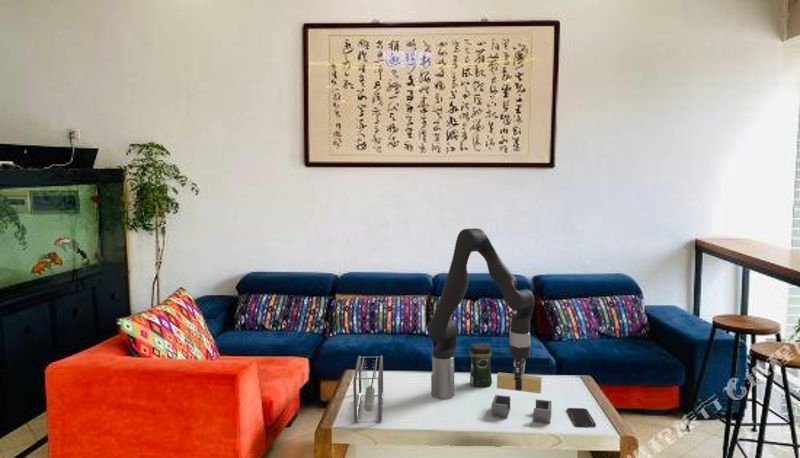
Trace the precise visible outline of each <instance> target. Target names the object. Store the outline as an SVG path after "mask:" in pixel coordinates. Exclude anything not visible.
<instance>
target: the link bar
mask: <svg viewBox="0 0 800 458" xmlns="http://www.w3.org/2000/svg"><path fill="white" fill-rule="evenodd" d="M517 377H519V376H517ZM515 381H516V380H514V373H508V372H500V371H499V372H497V374H496V389H501V390H509V391H517V392H526V393H533V394H541V393H542V381H543V380H542V376H536V375H535V376H534V375H526V374H524V375H522V389H521V390H516V389H515Z"/></svg>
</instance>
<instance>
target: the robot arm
mask: <svg viewBox="0 0 800 458" xmlns="http://www.w3.org/2000/svg"><path fill="white" fill-rule="evenodd" d="M453 251H454V252H453V254H452V255H453V256H452V260H451V262H450V267H449V269H448V273H447V276H446V278H445V282H444V286H443V288H442V291H441V295H440V298H439V301H438V304H437V307H436V309H435V312H434V314H433V316H432V319H431V321H430V323H429V326H428V336H429V338H430V340H431V341H432V342H434V343H436V345H435V346H434V347H433V348H432V358H431V359H432V373H431V375H430V379H431V380H430V383H431V385H430V388H431V395H432V396H431V397H433V396H435V397H434V398H436V397H438V398H437V399H439V398H449V399H452V398H453V397H454V396H455V352H456V349H457V340H458V339H457V337H458V336H457V325H456V322H455V321H454V320H453V319H452V315H453V314H454V312H455V310H457V308H459V305H460V304H461V302H462V301H463V300H464V299H465V298H464V297H465V295H466V293H467V290H468V288H469V281H470V280H469V273H468V269H467V268H468V262H469V259H470V256H471V254H472V253H474V252H477V253H478V254H480V255H481V257H483V259H484V261H485V262H486V265H487V269H488V274H489V276H490V277H491V279H492V281H493V282H494V283H495V284H496V285H497V287H498V288H499V289H500V292H501V294H502V296H503V298H504V302H505V303H506V305H507V306H508V307H509V308H510V309H511V310H514V311H515V312H516V313H515V314H513V316H512V317H511V319H510V335H509V355H510V357H512V358H514V361H513V367H514V368H513V374H514V380H516V381H515V389H516V390H521V389H522V375H525V370H526V367H525V366H526V359H528V358H530V357H531V320H532V316H533V314H534V309H535V303H536V299H535V295H534V294H533V292H532V291H531V290H530V289H526V288H525V289H520V290H517V289H516V288H515V287H516V286H517V284H518V280H517V278H516V277H515V276H514V275H513V273H512V272H511V271H510V270H509V268H508V267H507V266H506V264H505V263H504V262H503V261H502V259H501V257H500V256H499V254H498V253H497V251H496V249H495V247H494V246H493V244H492V242H491V241H490V239H489V237H488V235H487V234H486V233H485V231H484V229H483V230H482V229H481V228H478V227H477V228H476V227H475V228H465V229H462V230H461V231H459V233H458V235H457V237H456V241H455V245H454V250H453ZM517 376H519V377H517ZM451 397H452V398H451Z"/></svg>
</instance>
